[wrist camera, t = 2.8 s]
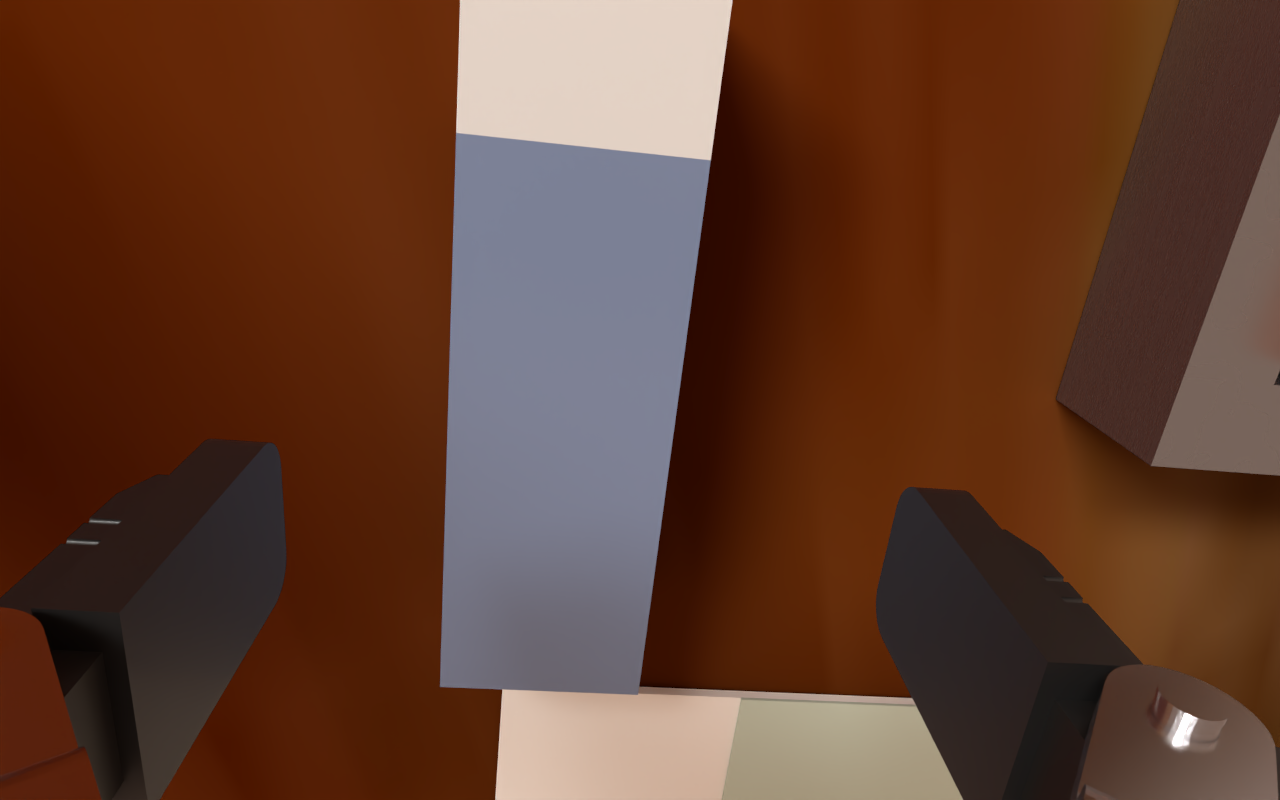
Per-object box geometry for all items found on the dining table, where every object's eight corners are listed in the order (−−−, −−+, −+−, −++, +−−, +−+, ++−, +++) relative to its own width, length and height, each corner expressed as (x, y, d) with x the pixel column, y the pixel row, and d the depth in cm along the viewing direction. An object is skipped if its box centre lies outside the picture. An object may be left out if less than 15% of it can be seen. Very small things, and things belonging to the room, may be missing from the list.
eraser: (464, 574, 23) (440, 687, 19) (489, -33, 18) (462, -61, 14) (627, 583, 24) (638, 694, 19) (699, -5, 18) (736, -26, 14)
